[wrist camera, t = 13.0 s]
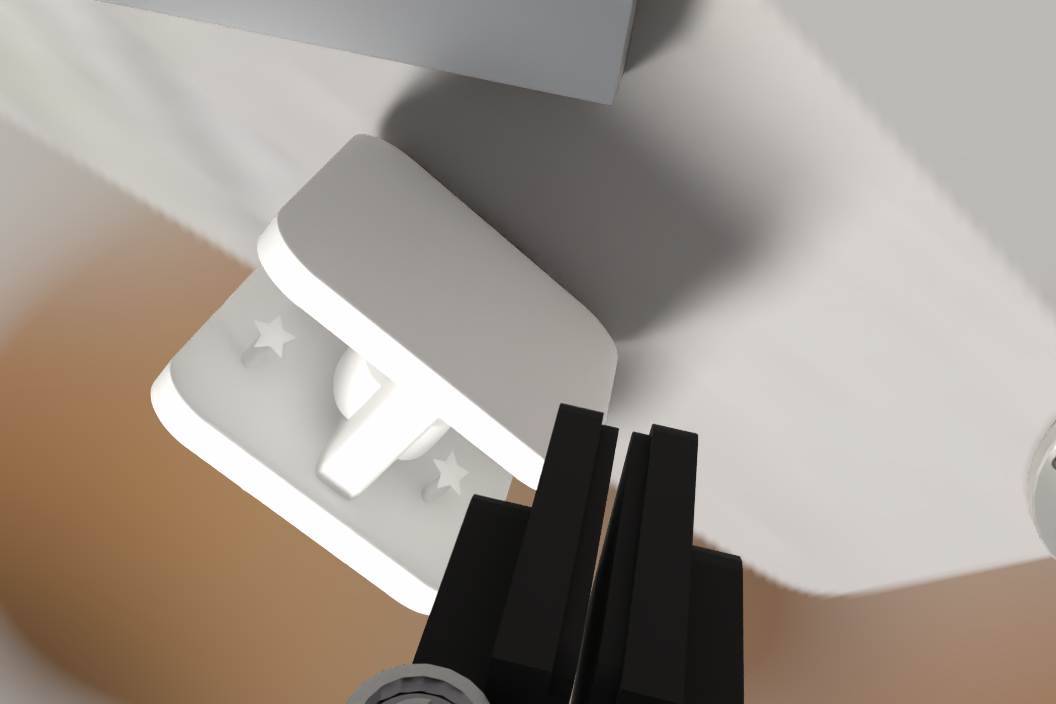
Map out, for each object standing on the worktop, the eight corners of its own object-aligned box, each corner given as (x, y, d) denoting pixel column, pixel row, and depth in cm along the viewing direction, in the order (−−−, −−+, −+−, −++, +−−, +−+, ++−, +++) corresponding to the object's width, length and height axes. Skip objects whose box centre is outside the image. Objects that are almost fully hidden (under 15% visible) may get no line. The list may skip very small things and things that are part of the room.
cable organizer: (641, 341, 44) (614, 507, 35) (494, 470, 50) (434, 647, 40) (375, 113, 41) (262, 225, 31) (247, 276, 46) (116, 417, 36)
